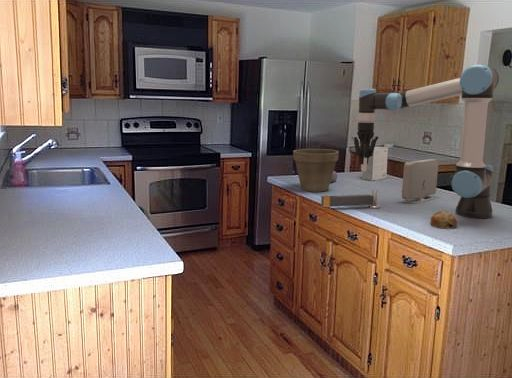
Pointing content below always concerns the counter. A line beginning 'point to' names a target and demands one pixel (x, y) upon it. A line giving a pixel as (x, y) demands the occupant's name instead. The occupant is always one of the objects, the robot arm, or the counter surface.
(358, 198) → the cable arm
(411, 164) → the network device
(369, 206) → the pivot post
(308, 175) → the plant pot
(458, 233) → the counter surface
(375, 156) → the hard drive box
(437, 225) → the bread roll
